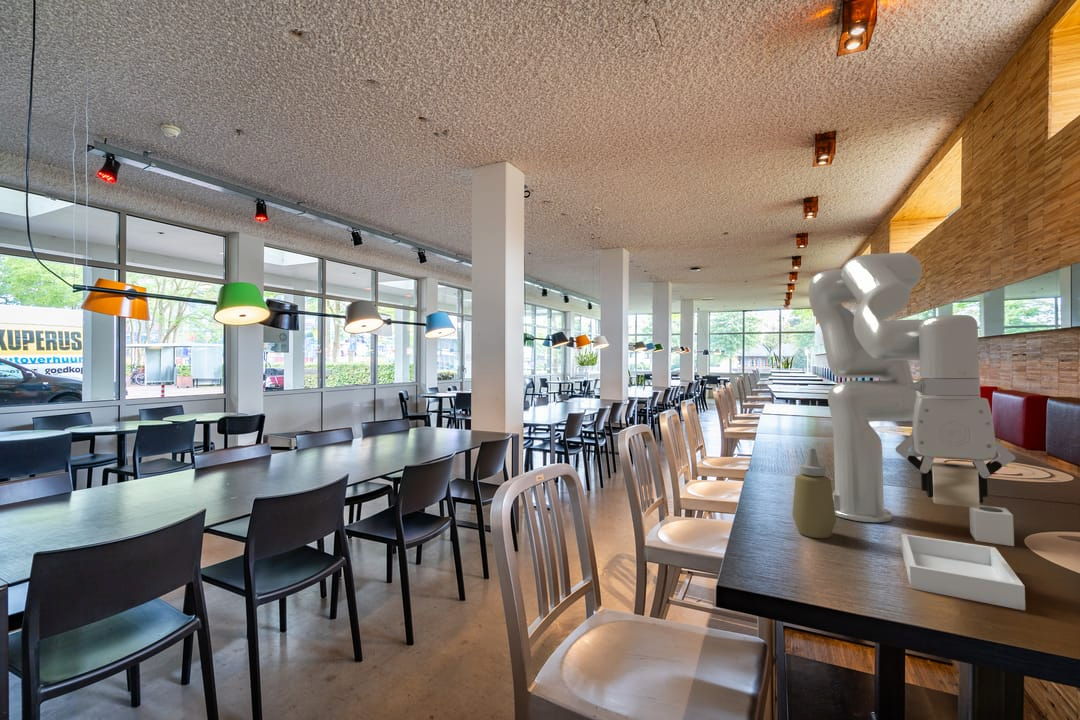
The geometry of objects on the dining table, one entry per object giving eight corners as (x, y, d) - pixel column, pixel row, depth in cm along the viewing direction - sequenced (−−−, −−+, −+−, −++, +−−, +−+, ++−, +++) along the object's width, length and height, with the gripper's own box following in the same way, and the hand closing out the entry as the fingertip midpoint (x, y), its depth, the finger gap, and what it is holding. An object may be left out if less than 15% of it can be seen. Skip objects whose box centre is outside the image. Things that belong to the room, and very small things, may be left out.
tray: (910, 588, 75) (909, 566, 75) (901, 552, 89) (901, 533, 89) (1025, 610, 67) (1024, 586, 68) (995, 567, 82) (995, 547, 82)
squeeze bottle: (821, 544, 94) (819, 453, 94) (784, 531, 101) (782, 447, 101) (845, 536, 97) (843, 449, 98) (807, 525, 104) (805, 444, 105)
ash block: (934, 503, 77) (933, 466, 78) (930, 495, 82) (928, 460, 82) (979, 508, 74) (978, 469, 74) (972, 500, 79) (971, 463, 79)
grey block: (975, 541, 94) (974, 510, 94) (970, 532, 99) (969, 503, 99) (1014, 546, 91) (1013, 515, 91) (1006, 537, 95) (1005, 507, 96)
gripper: (887, 389, 80) (890, 496, 80) (1028, 390, 71) (1033, 512, 70) (884, 388, 87) (888, 487, 86) (1014, 389, 77) (1019, 500, 76)
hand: (953, 497), depth 78 cm, fingers closed on ash block, 5 cm apart
